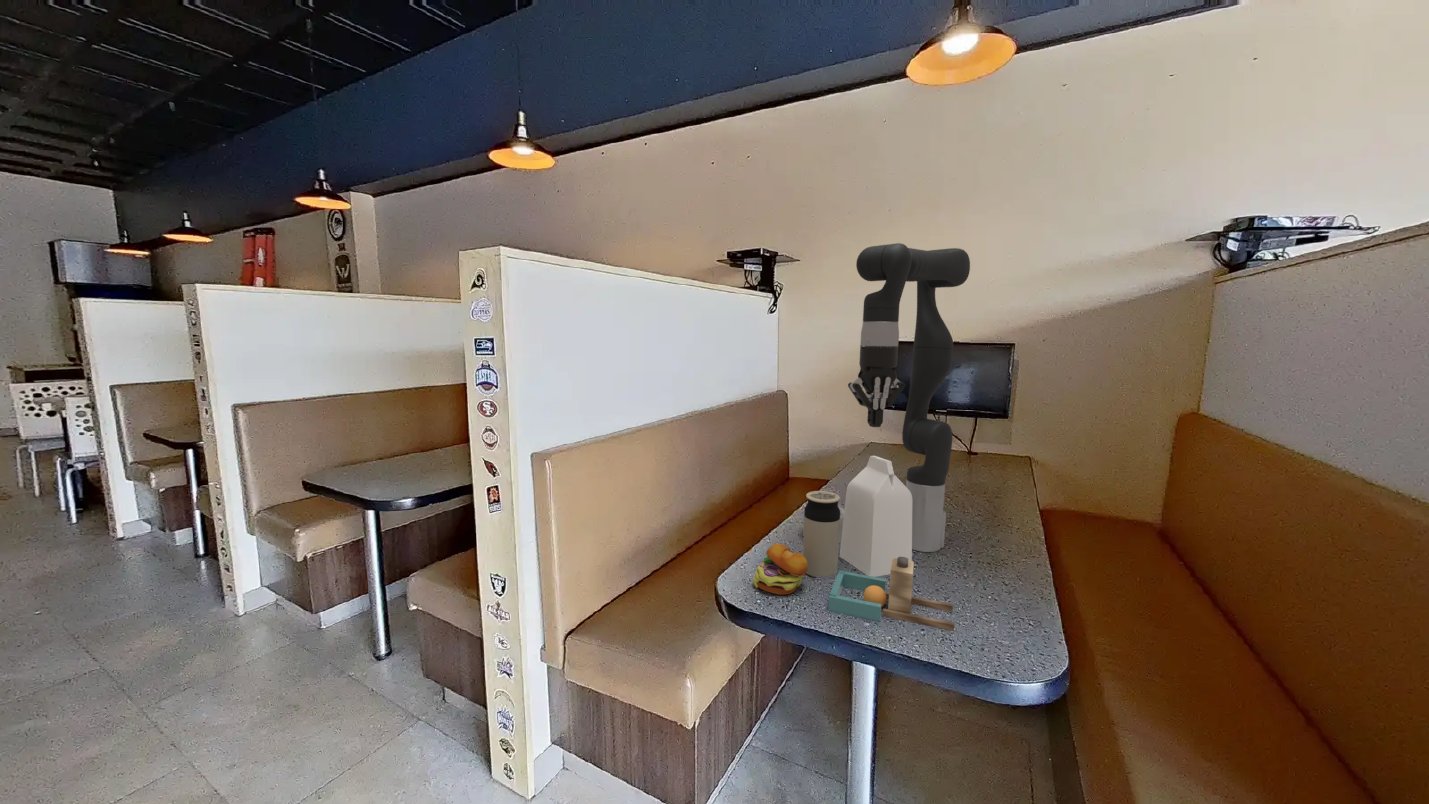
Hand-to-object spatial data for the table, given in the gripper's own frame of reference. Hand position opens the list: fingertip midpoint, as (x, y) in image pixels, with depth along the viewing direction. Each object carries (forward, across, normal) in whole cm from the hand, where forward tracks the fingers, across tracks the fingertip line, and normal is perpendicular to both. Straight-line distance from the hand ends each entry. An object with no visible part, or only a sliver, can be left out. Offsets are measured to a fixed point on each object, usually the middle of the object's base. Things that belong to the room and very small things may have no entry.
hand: (874, 426), depth 110 cm
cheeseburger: (+35, +19, -4) cm, 40 cm away
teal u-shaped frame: (+35, +7, +8) cm, 36 cm away
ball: (+33, +4, +9) cm, 34 cm away
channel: (+34, -2, +15) cm, 37 cm away
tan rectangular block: (+34, +1, +12) cm, 37 cm away
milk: (+35, -7, -7) cm, 37 cm away
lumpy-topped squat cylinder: (+35, -4, -26) cm, 44 cm away
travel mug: (+35, +7, -8) cm, 37 cm away
